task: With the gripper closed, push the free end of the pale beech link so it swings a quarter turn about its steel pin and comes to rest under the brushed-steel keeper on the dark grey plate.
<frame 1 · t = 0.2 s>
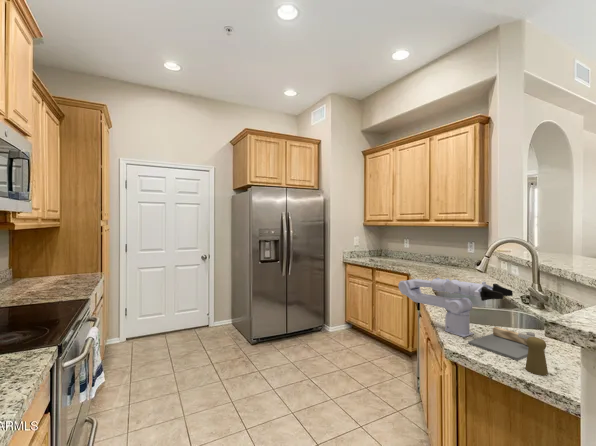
hand: (507, 294, 120), 21 cm above the counter, tool horizontal, fingers open, 7 cm apart
link: (514, 336, 124), point 3 cm above the counter, hinge at 0.0°
keeper: (525, 350, 117), resting on base plate
base plate: (504, 346, 121), on the counter
cork: (536, 371, 101), on the counter
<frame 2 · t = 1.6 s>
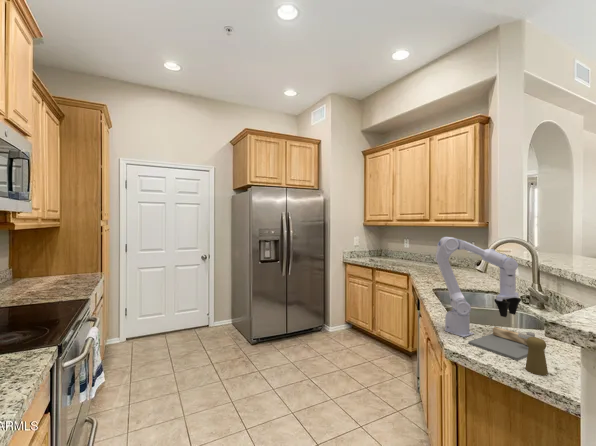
hand: (507, 315, 132), 9 cm above the counter, tool pointing down, fingers open, 7 cm apart
nothing on the counter moved.
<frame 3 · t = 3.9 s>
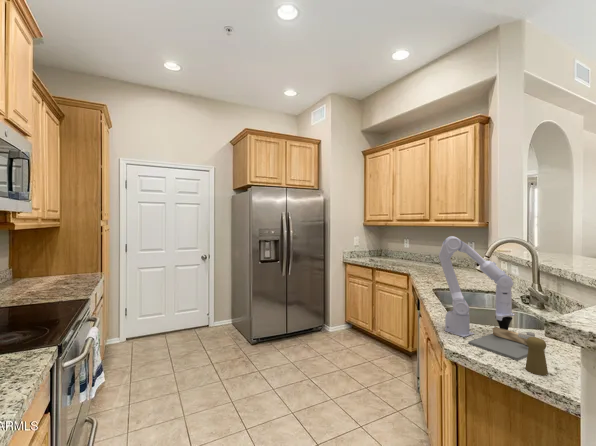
hand: (503, 333, 130), 2 cm above the counter, tool pointing down, fingers closed, pressing on link
link: (514, 336, 124), point 3 cm above the counter, hinge at 1.1°, touching gripper
everything else where it was.
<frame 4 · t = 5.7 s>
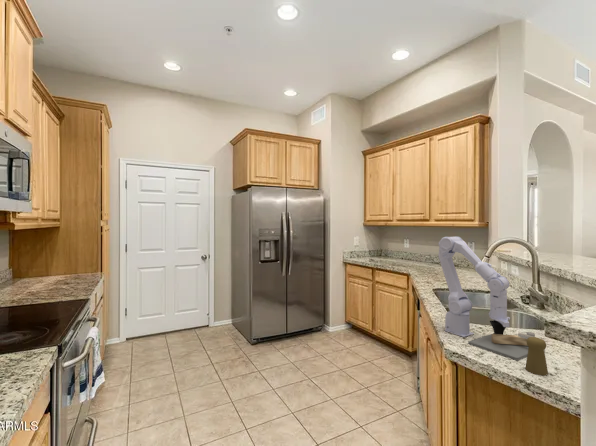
hand: (498, 339, 123), 2 cm above the counter, tool pointing down, fingers closed, pressing on link
link: (514, 339, 120), point 3 cm above the counter, hinge at 48.0°, touching gripper
everything else where it was.
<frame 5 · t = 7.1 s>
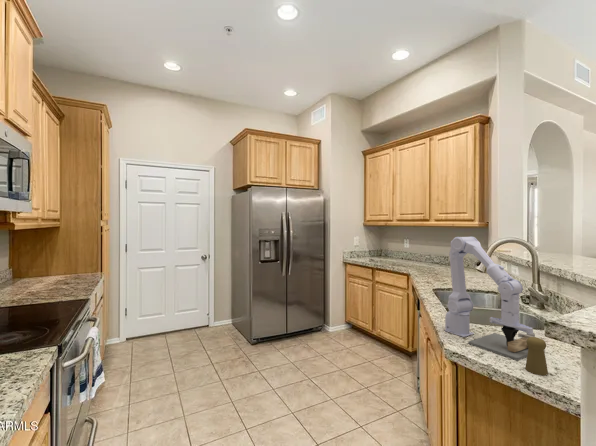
hand: (510, 346, 116), 2 cm above the counter, tool pointing down, fingers closed, pressing on link
link: (522, 343, 117), point 3 cm above the counter, hinge at 86.9°, touching gripper
everything else where it was.
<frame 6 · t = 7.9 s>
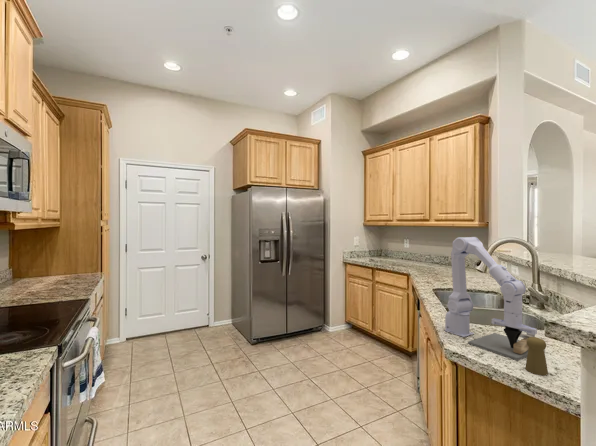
hand: (513, 347, 115), 2 cm above the counter, tool pointing down, fingers closed
link: (525, 344, 116), point 3 cm above the counter, hinge at 95.7°, touching gripper
everything else where it was.
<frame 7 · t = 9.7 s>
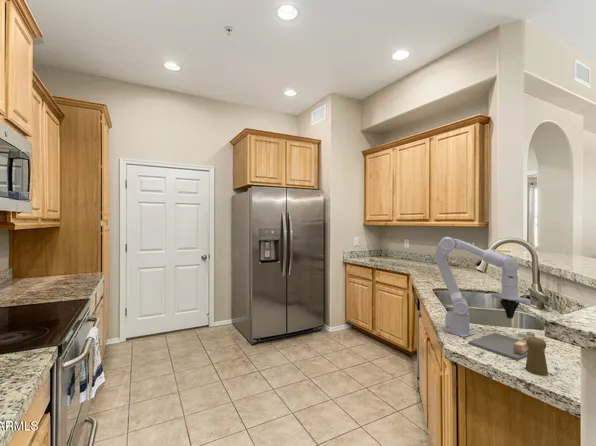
hand: (510, 317, 128), 9 cm above the counter, tool pointing down, fingers closed
link: (525, 344, 116), point 3 cm above the counter, hinge at 95.8°
everything else where it was.
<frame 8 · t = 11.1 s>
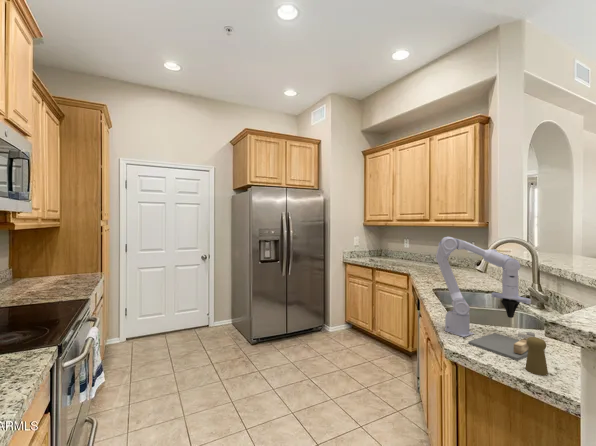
hand: (510, 317, 129), 9 cm above the counter, tool pointing down, fingers closed
nothing on the counter moved.
at the end: link at +96° (first picture: +0°) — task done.
